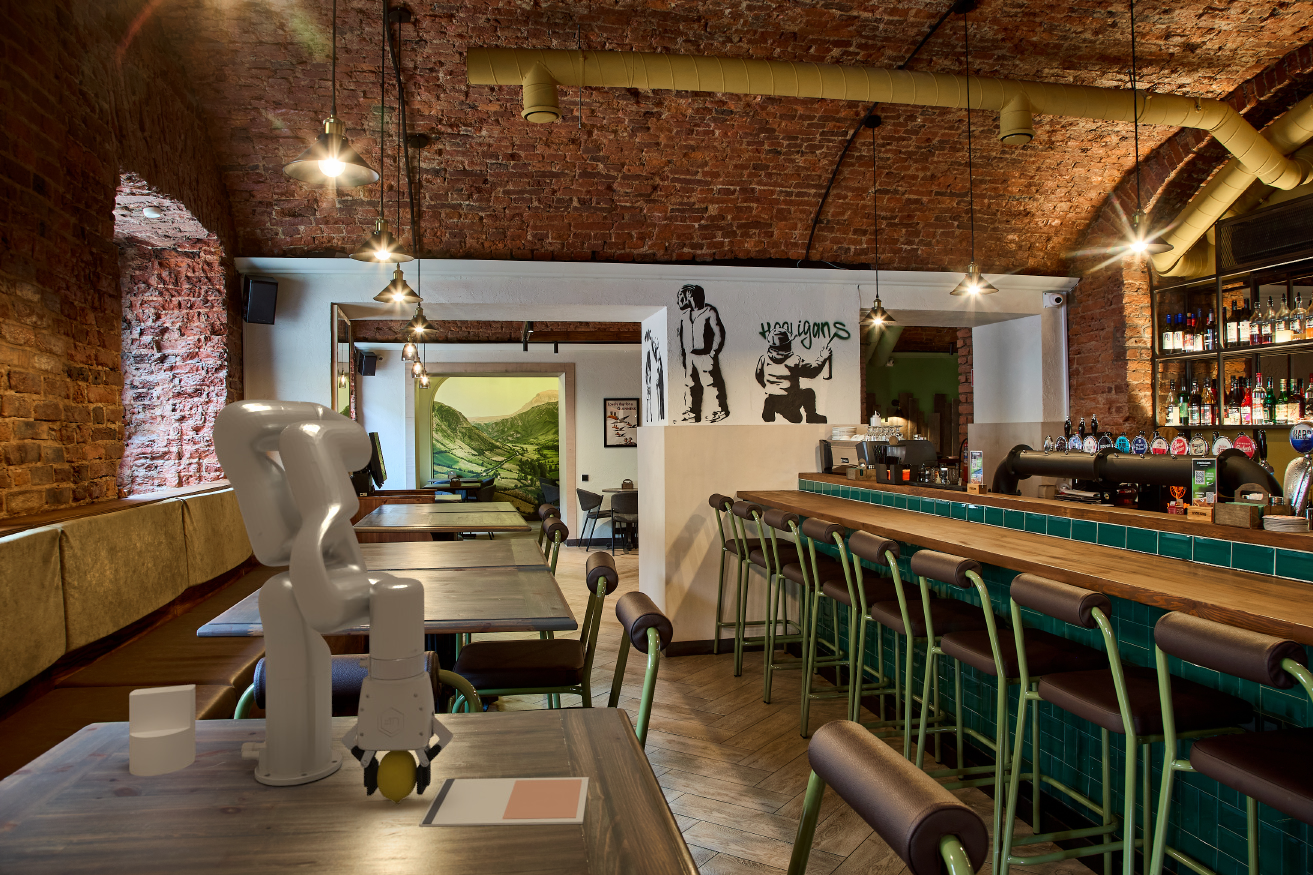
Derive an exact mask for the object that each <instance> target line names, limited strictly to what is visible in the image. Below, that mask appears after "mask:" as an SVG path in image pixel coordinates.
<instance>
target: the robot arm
mask: <svg viewBox="0 0 1313 875" xmlns="http://www.w3.org/2000/svg"><path fill="white" fill-rule="evenodd" d="M212 435H213V437H212V438H213V439H212V440H213V447H214V451H215V455H216V458H217V461H218V463H219V465H220V468H221V470H222V471H223V474H224V475H225V477H226V479H227V480H228V483H229V484H230V486H231V487H232V489H233V491H234V494H235V496H236V500H237V504H238V506H239V510H240V514H241V516H242V517H241V518H242V521H243V524H244V527H245V530H246V533H247V537H248V540H249V542H250V546H251V550H252V551H253V554H254V556H255V558H256V560H258V562H259V563H260V564H262V565H264V566H267V567H282V566H289V570H286V571H282V572H280V573H278V574H275V575H273V576H271V577H270V578H268V579H267V580H266V581H265V582H264V584H262V586H261V588H260V589H259V590H260V591H259V593H258V599H257V604H258V605H257V606H258V612H259V616H260V622H261V626H262V631H263V632H262V633H263V640H264V649H265V650H264V652H265V653H264V656H265V740H263V742H257V741H255V742H248V741H247V742H244V743H243V744H242V745H241V751H240V753H241V760H242V761H252V760H256V761H257V762H258V764H257V765H256V766H255V768H254V778H255V780H256V781H258V782H259V783H261V784H264V785H269V786H275V787H278V786H279V787H280V786H281V787H283V786H284V787H285V786H287V787H288V786H296V785H301V784H305V783H306V784H307V783H311V782H314V781H316V780H321V779H323V778H325V777H327V776H331V775H332V774H333V773H335V772H336V771H338V769H340V767H341V766H342V764H343V754H342V753H341V752H340V751H339V750H337V749H335V748H333V746H332V744H333V741H332V740H333V738H332V736H333V733H332V730H333V729H332V728H333V724H332V723H333V721H332V720H333V719H332V718H333V716H332V714H333V707H332V706H333V704H332V701H333V700H332V699H333V698H332V696H333V692H332V691H333V689H332V688H333V687H332V686H333V685H332V682H333V681H332V679H333V678H332V677H333V676H332V675H333V674H332V673H333V671H332V669H333V666H332V664H333V663H332V652H331V648H330V647H329V645H328V643H327V641H326V640H325V639H324V637H323V636H322V635H321V634H330V633H335V632H336V633H337V632H340V631H343V630H349V629H353V628H357V627H361V626H366V625H369V631H368V632H369V635H368V636H369V637H368V638H369V642H368V643H369V651H368V652H369V655H368V656H366V657H363V658H360V659H359V663H358V664H359V668H360V669H366V670H367V675H366V676H365V677H363V680H362V684H361V688H360V695H359V702H358V710H357V720H356V723H355V724H354V725H353V726H352V728H350V729H349V730H348V731H347V732H346V733H345V734H344V735H343V736H342V737H341V739H340V741H341V744H342V745H343V746H344V747H346V749H347V750H349V751H350V753H351V755H352V757H354V758H355V759H356V760H357V761H358V762H359V763H360V764H359V765H360V767H362V768H363V787H364V788H366V795H367V796H369V797H371V796H372V795H374V793H376V791H377V789H379V788H378V784H377V773H378V768H379V764H380V761H379V759H377V758H376V755H377V753H378V752H389V751H409V752H410V751H412V752H413V751H414V753H415V754H416V757H417V759H418V761H419V762H418V765H417V782H416V794H417V795H418V796H422V795H423V794H424V793H425V790H426V789H427V787H429V786H430V785H431V779H432V778H431V777H432V769H431V768H432V766H431V765H432V764H431V763H432V761H433V760H434V759H435V758H436V757H437V756H439V754H440V753H441V752H442V751H443V750H444V748H445V747H447V746H448V745H449V743H450V742H451V741H452V740H453V738H454V734H453V733H452V731H450V730H449V728H447V727H446V726H445V725H444V724H443V723H442V722H441V721H440V720H438V718H436V714H435V712H436V711H435V701H434V694H433V688H432V681H431V678H430V677H431V676H430V673H429V672H428V671H426V669H425V664H426V663H425V588H424V585H423V582H421V581H420V580H419V579H416V578H413V577H412V578H411V577H398V576H395V575H393V574H390V573H388V572H385V571H370V572H369V570H368V567H367V564H366V562H365V559H364V556H363V552H362V550H361V546H360V543H359V541H358V538H357V535H356V531H355V529H354V527H353V524H352V522H351V519H352V518H353V517H355V515H356V514H357V513H358V511H359V509H360V500H359V499H358V496H357V493H356V490H355V487H354V485H353V483H352V480H351V476H350V474H349V472H352V473H353V472H358V471H361V470H363V469H364V468H365V467H367V466H368V465H369V463H370V461H371V458H372V454H373V447H372V441H371V438H370V436H369V434H368V432H367V431H366V429H365V428H364V427H363V426H362V425H361V424H360V423H358V422H357V421H356V420H354V419H352V418H350V417H348V416H346V415H344V414H341V413H339V412H338V411H336V410H334V409H332V408H330V407H327V406H326V405H324V404H321V403H317V402H311V401H301V400H300V401H298V400H297V401H296V400H278V399H277V400H276V399H245V400H244V399H242V400H239V401H238V400H237V401H234V402H232V403H228V404H227V405H225V406H223V408H222V409H221V410H220V411H219V412H218V414H217V416H216V417H215V421H214V426H213V433H212ZM268 452H278V454H279V457H280V460H281V464H282V466H281V465H280V464H279V463H278V462H276V461H275V460H274V459H272V458H271V457H270V456H269V455H268ZM435 735H436V736H437V737H438V740H437V742H435V743H434V744H433V746H431V745H430V741H431V738H433V737H434V736H435Z"/></svg>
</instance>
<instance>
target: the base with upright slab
mask: <svg viewBox="0 0 1313 875" xmlns="http://www.w3.org/2000/svg"><path fill="white" fill-rule="evenodd" d="M128 698H129V699H128V700H129V701H128V702H129V704H128V705H129V708H128V709H129V715H128V716H129V719H128V720H129V724H128V726H129V728H128V729H129V733H128V734H129V736H128V737H129V741H128V742H129V746H128V749H129V758H128V760H129V762H128V763H129V765H128V766H129V768H128V769H129V770H128V771H129V774H131V775H133V776H136V777H137V776H138V777H155V776H161V775H166V774H169V773H173V772H177V771H179V770H182V769H184V768H185V769H186V767H188V766H190V765H192V764H193V763H194V762H195V760H196V684H187V685H186V684H184V685H173V686H163V687H162V686H161V687H151V688H149V687H148V688H140V689H134V690H133V691H131V692H130V693H129V696H128Z"/></svg>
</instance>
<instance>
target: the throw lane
mask: <svg viewBox="0 0 1313 875" xmlns="http://www.w3.org/2000/svg"><path fill="white" fill-rule="evenodd" d="M589 781H590V777H589V776H582V777H581V776H578V777H577V776H575V777H570V776H569V777H567V776H566V777H530V778H529V777H526V778H525V777H513V778H509V777H508V778H507V777H505V778H501V777H500V778H446V779H445V778H444V779H443V781H442V783H441V784H440V787H439V789H438V790H437V792H436V793H435V795H434V797H433V799H432V801H431V802H430V804H429V806H428V807H427V809H426V812H425V813H424V815H423V817H422V819H421V820H420V822H419V823H418V826H419V827H458V826H459V827H466V826H468V827H469V826H472V827H473V826H519V825H520V826H522V825H523V826H525V825H527V826H528V825H532V826H533V825H538V826H539V825H583V824H584V817H585V810H586V802H587V795H588V788H589Z"/></svg>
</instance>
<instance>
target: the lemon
mask: <svg viewBox="0 0 1313 875" xmlns="http://www.w3.org/2000/svg"><path fill="white" fill-rule="evenodd" d="M417 767H418V765H417V762H416V758H415V756H414V755H413V753H411V752H410V751H387V753H385V755H384V756H383V757H382V758H381V760H380V761H379V768H378V773H377V784H378V788H377V789H378V791H379V793H380V795H382V796H383V797H384V798H385V799H387V800H388V801H392V802H394V803H395V804H400V803H401V802H402V801H403V800H404V799H406V798H408V797H409V796H410V795H411V793H413V791H414V789H416V788H415V787H416V786H417Z"/></svg>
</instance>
